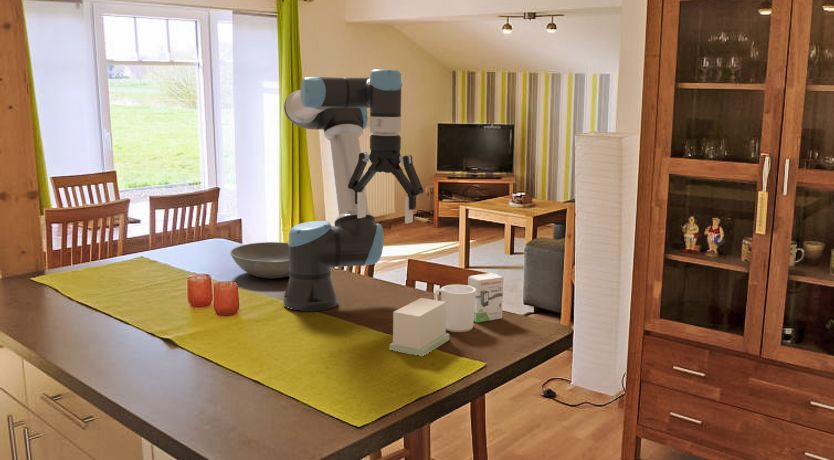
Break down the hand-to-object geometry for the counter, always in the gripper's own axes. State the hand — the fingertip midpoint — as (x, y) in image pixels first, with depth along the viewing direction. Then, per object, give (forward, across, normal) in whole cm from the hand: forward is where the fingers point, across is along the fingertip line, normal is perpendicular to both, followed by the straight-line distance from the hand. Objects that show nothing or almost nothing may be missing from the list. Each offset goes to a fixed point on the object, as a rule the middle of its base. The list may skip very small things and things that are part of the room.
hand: (384, 220), depth 195 cm
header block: (+29, +13, -5) cm, 32 cm away
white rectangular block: (+27, +13, -5) cm, 30 cm away
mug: (+29, +14, +12) cm, 34 cm away
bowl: (+29, -60, +32) cm, 74 cm away
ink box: (+29, +18, +23) cm, 41 cm away
